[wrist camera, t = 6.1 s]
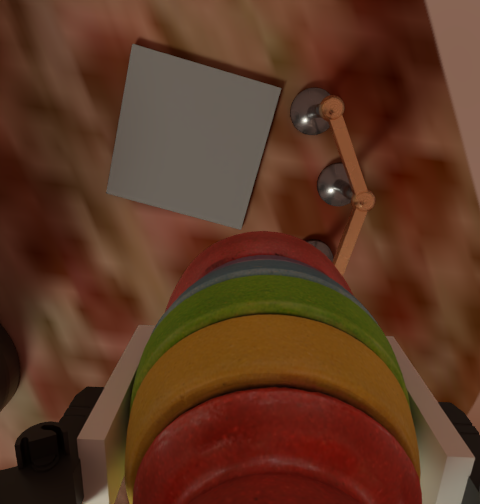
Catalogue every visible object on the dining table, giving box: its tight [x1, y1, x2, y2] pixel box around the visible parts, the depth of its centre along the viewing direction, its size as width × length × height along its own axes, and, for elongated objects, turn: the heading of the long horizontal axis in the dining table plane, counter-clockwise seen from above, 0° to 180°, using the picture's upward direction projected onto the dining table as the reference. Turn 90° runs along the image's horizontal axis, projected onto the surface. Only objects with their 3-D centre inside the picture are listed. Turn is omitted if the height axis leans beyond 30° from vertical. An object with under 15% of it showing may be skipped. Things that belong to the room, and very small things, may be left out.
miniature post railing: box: [290, 88, 376, 276], centre depth 31 cm, size 8×16×9 cm, turn 164°
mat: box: [106, 44, 281, 230], centre depth 34 cm, size 12×12×1 cm
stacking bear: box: [125, 231, 422, 504], centre depth 12 cm, size 11×10×18 cm
